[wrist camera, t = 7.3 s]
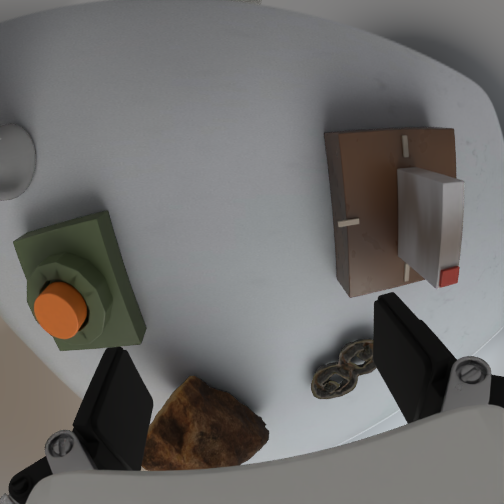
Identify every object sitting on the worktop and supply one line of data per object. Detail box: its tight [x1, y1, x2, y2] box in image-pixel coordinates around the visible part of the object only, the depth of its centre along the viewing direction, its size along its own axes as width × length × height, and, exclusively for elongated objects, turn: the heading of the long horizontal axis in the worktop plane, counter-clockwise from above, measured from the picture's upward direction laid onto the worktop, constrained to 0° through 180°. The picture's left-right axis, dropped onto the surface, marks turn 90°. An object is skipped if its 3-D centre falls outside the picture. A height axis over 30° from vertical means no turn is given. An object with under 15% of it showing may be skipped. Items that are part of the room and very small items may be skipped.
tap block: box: [324, 127, 456, 298], centre depth 20 cm, size 11×10×3 cm
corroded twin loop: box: [311, 339, 377, 399], centre depth 27 cm, size 5×8×1 cm, turn 142°
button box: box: [13, 210, 147, 351], centre depth 21 cm, size 10×8×4 cm
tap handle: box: [397, 167, 464, 289], centre depth 17 cm, size 6×2×5 cm, turn 9°
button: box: [34, 282, 87, 339], centre depth 18 cm, size 4×4×2 cm
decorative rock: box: [142, 376, 269, 471], centre depth 23 cm, size 12×6×11 cm, turn 44°
